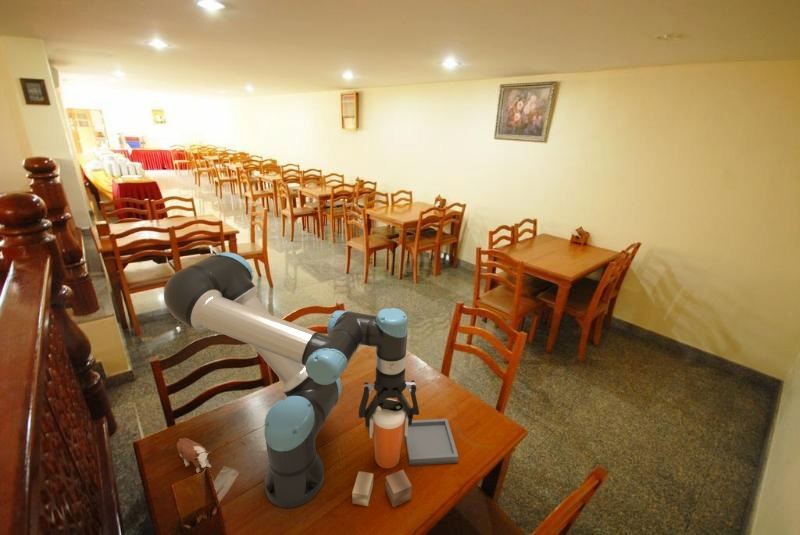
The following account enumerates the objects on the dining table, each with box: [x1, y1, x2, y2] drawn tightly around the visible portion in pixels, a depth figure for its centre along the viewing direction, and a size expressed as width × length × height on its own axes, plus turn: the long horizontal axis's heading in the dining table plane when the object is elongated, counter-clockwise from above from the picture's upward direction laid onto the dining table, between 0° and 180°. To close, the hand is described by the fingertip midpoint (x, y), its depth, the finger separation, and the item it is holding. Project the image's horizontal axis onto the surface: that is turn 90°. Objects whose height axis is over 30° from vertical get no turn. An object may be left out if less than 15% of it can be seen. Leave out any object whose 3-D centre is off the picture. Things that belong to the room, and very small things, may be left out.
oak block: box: [351, 470, 374, 507], centre depth 91 cm, size 4×6×4 cm, turn 171°
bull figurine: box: [176, 437, 213, 474], centre depth 95 cm, size 4×13×8 cm, turn 58°
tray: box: [404, 418, 459, 467], centre depth 106 cm, size 14×14×2 cm
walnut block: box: [384, 469, 413, 508], centre depth 90 cm, size 5×5×5 cm
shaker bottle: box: [373, 398, 405, 470], centre depth 98 cm, size 9×9×20 cm
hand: (388, 433), depth 98 cm, fingers closed on shaker bottle, 9 cm apart
